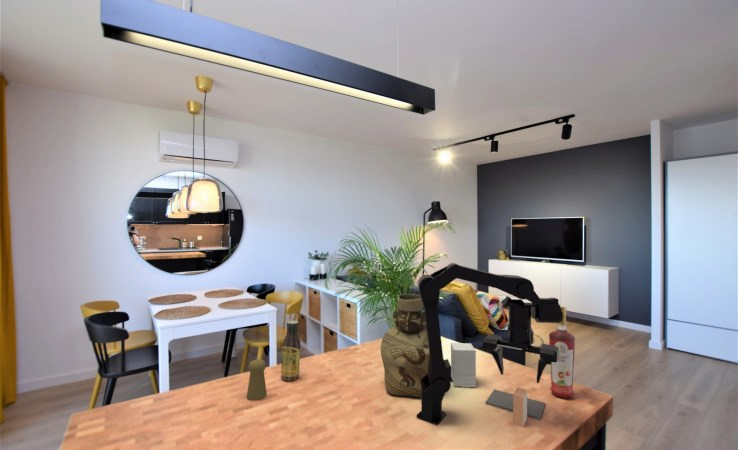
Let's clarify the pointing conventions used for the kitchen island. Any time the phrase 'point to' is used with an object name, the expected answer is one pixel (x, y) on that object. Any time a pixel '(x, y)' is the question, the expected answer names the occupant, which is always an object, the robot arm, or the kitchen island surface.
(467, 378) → the supplement box
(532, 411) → the mat
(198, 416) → the kitchen island surface
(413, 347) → the ceramic vessel
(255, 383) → the pepper mill
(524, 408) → the slab
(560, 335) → the liquor
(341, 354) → the kitchen island surface
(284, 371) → the sauce bottle
